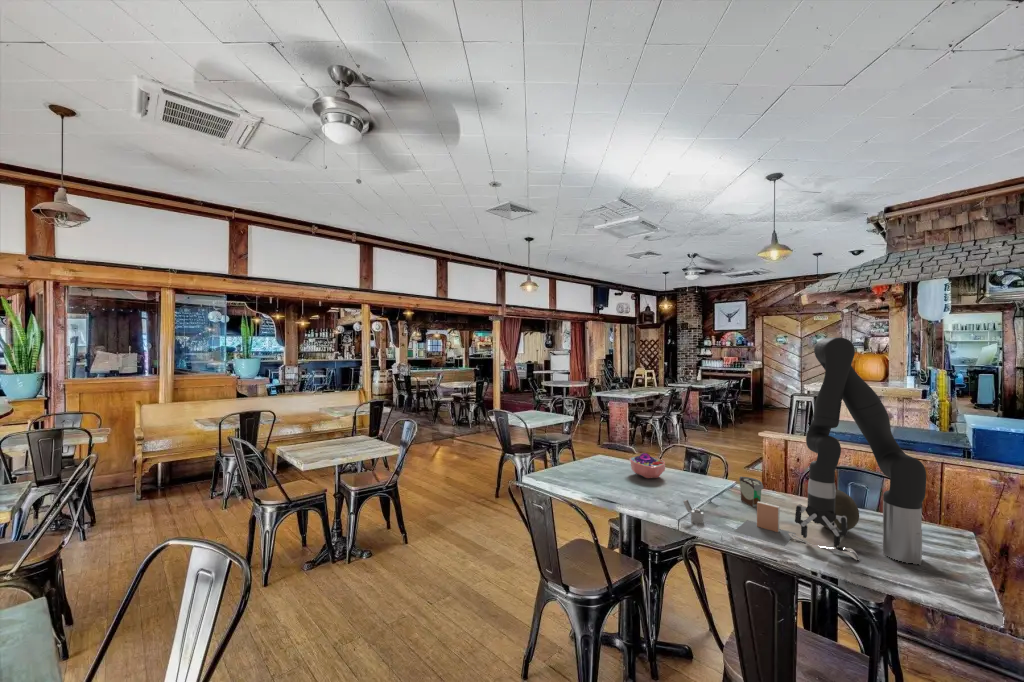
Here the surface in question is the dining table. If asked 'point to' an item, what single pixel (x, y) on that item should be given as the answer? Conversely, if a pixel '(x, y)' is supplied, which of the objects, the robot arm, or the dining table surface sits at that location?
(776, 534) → the mat
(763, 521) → the tile
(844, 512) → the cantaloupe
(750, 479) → the food container
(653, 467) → the cell model
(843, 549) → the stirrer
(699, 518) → the lighter
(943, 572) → the dining table surface
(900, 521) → the robot arm
